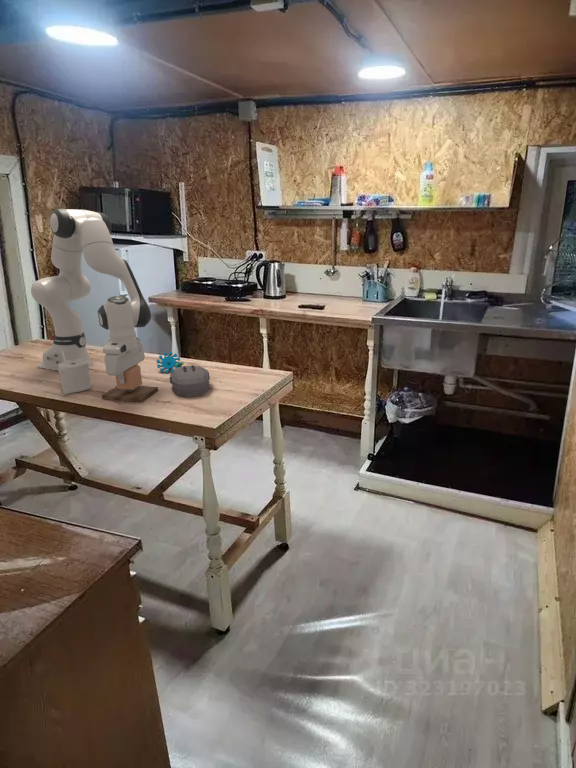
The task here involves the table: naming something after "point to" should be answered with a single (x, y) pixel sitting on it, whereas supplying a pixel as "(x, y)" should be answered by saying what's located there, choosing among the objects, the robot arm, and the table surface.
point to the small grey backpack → (190, 380)
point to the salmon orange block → (130, 378)
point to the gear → (169, 362)
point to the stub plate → (130, 394)
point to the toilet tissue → (74, 375)
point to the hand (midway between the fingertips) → (128, 379)
